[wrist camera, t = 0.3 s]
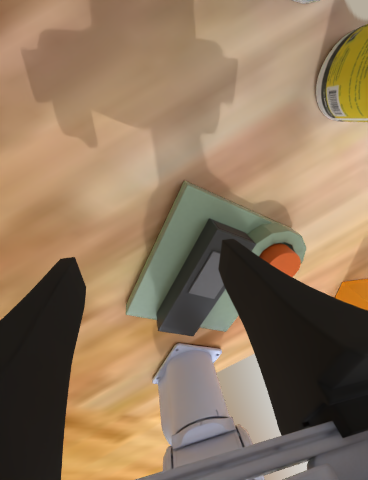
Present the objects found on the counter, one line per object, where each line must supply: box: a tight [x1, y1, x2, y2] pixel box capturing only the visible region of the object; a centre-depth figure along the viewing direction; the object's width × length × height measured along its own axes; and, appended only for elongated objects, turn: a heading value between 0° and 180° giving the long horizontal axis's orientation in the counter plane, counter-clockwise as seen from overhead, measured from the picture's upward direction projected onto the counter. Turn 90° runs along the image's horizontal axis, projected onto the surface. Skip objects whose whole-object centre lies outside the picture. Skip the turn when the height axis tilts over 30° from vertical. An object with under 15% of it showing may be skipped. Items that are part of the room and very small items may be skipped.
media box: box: [126, 181, 306, 332], centre depth 24 cm, size 16×14×4 cm
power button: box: [259, 244, 301, 277], centre depth 21 cm, size 4×4×2 cm
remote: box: [156, 218, 256, 336], centre depth 22 cm, size 13×4×3 cm, turn 153°
